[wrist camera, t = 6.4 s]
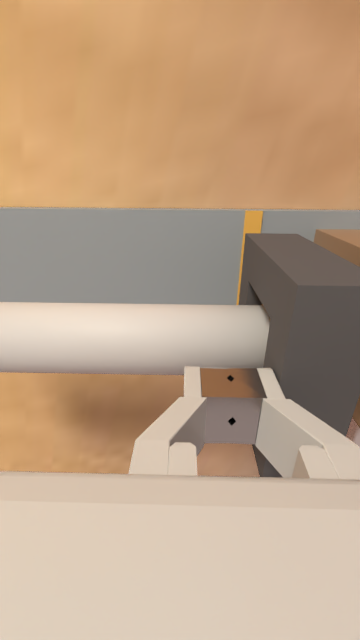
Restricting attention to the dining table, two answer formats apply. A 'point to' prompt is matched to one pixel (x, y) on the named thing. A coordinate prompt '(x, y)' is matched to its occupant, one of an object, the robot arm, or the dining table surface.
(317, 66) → the dining table surface
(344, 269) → the grey rectangular frame
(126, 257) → the pipe stand
